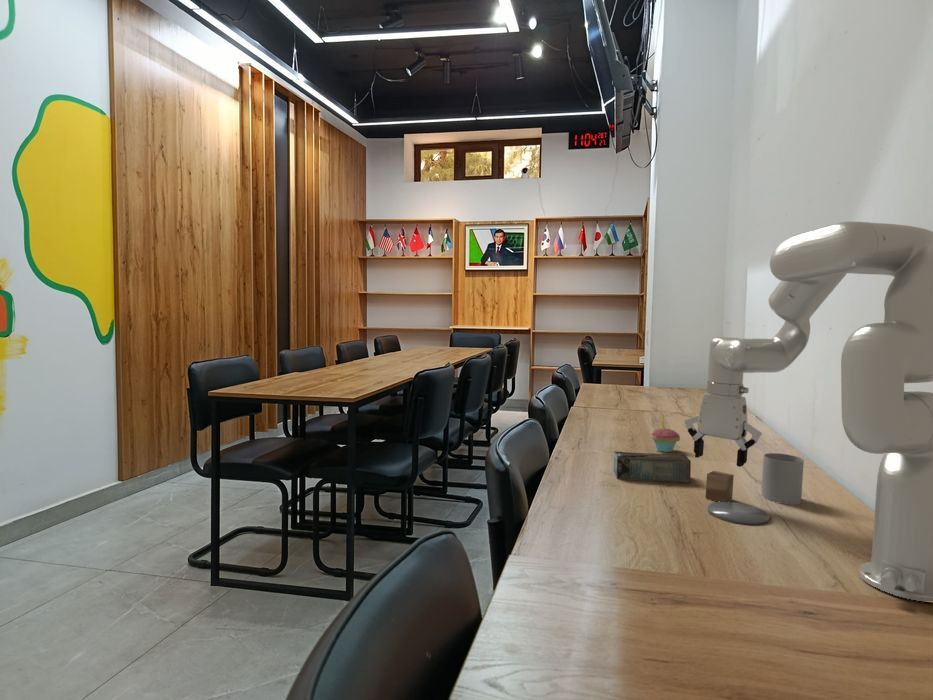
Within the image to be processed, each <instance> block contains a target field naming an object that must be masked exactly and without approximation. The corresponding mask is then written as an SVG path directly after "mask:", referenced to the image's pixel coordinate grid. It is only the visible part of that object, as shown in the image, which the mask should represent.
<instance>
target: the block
mask: <svg viewBox="0 0 933 700" xmlns="http://www.w3.org/2000/svg"><path fill="white" fill-rule="evenodd" d="M734 477H735V476H734V474H732V473H728V472H723V471H718V470H713V471H710V472H708V473H706V484H705V499H706V498H707V499H706V500H709V499H711V501H713V500H716V501H715V502H717V501H720V502H731V501H732V500H733V492H734ZM731 499H732V500H731Z"/></svg>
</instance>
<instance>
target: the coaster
mask: <svg viewBox="0 0 933 700" xmlns="http://www.w3.org/2000/svg"><path fill="white" fill-rule="evenodd" d="M707 512H708V513H709V514H710V515H711V516H713V517H715V518H717V519H720V520H722V519H723V521H727V522H729V523H734V524H739V523H740V524H741V525H748V524H758V525H763V524H762V523H764V524H766V523H768V522H769V520H770V515H769V513H768V512H766V511H765V510H763V509H761V508H759V507H756V506H754V505H749V504H746V503H741V502H731V501H728V502H717V501H714V502H711V503H709V504H708V506H707ZM767 521H768V522H767ZM765 522H766V523H765Z"/></svg>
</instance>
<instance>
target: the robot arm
mask: <svg viewBox="0 0 933 700" xmlns="http://www.w3.org/2000/svg"><path fill="white" fill-rule="evenodd" d="M769 268H770V272H771V274H772V275H773V276H774V278H775V279H777V280H779V281H780V282H779V283H778V285H777V286H776V287H775V288H774V290H773V291H772V292H771V294H770V295H769V297H768V304H769V307H770V308H771V311H773V312H774V313H775V315H776V316H778V317H779V318H781V319H782V320H784V324H783V325H782V326H781V328H780V329H779V330H778V331H777V333H776V334H775V335H774V337H772V338H739V337H731V336H729V337H728V336H727V337H726V336H717V337H716V336H715V337H713V338H712V339H711V340H710V343H709V355H708V368H707V385H706V392H704V393H703V395H702V399H701V403H700V407H699V412H698V416H695V417H692V418H688V419H686V420H684V424H685V427H686V429H687V433H688V434H689V435H690V436H691V438H692V440H693V441H694V443H693V452H694V458H700V457H703V456H704V448H705V447H704V446H705V445H704V444H705V441H704V439H703V438H704V437H705V436H709V437H713V438H719V439H724V440H730V441H735V442H736V445H737V446H738V447H739V448H738V449H737V454H736V455H737V456H736V466H737V467H739V468H740V467H743V466H744V465H745V464H747V461H748V450H749V448H752V446H754V445H756V444H757V442H758V441H759V439H760V438H761V437H762V434H763V433H762V432H761V431H759V430H758V429H757V428H755V427H753V426H752V425H750V424H749V423H748V408H747V399H746V397H745V396H743V394H748V393H749V391H750V390H749V389H750V388H749V387H745V385H744V383H743V380H744V374H748V373H749V374H750V373H751V374H753V373H757V374H759V373H768V374H769V373H779V372H781V371H784V370H785V369H787V368H788V367H789V366H790V365H791V364H792V363H794V362H795V360H796V359H797V358H799V356H800V355H801V354H802V352H803V351H804V350H805V349H806V347H807V344H808V342H809V340H810V334H811V321H810V319H811V318H812V316H814V314H815V312H816V311H818V309H819V308H820V306H821V305H822V304H823V303H824V301H826V299H827V298H828V297H829V295H831V293H833V291H834V290H835V289H836V287H837V286H838V285H839V283H841V282H842V280H843V279H844V278H845V277H846V275H847V274H855V275H859V274H860V275H861V274H862V275H880V276H881V275H883V276H891V277H894V278H893V279H892V280H891V282H890V284H889V286H888V288H887V290H886V293H885V296H884V301H883V303H884V304H883V305H884V306H883V309H884V319H883V322H874V323H868V324H865V325H863V326H860V327H858V328H857V329H855V330H854V331H853V332H852V333H851V334H850V335H849V336H848V338H847V340H846V342H845V344H844V346H843V349H842V352H841V358H840V360H841V361H840V375H841V377H840V380H841V381H840V382H841V385H840V386H841V388H840V389H841V399H840V400H841V403H840V404H841V420H842V427H843V429H844V433H845V435H846V437H847V439H848V440H849V441H850V442H851V444H852V445H853V446H854V447H856V448H857V449H859V450H861V451H863V452H866V453H870V454H877V455H878V454H879V455H883V456H882V457H881V461H880V463H879V467H878V471H877V476H876V477H877V480H876V487H875V488H876V489H875V491H876V492H875V504H874V519H873V533H872V546H871V547H872V549H871V561H868V562H864V563H862V564H860V565H859V568H858V573H859V576H860V578H861V579H862V580H863V581H864V582H866V584H869V586H872V587H874V588H875V587H876V588H875V589H877V588H878V589H877V590H879V589H880V590H879V591H882V592H884V591H885V592H884V593H886V592H887V594H889V593H890V594H889V595H892V594H893V595H892V596H896V597H898V596H899V597H898V598H901V597H902V599H905V598H906V600H909V599H911V600H910V601H913V600H919V601H933V392H930V391H918V390H917V391H915V390H913V391H905V384H919V383H920V384H921V383H923V384H924V383H931V382H932V383H933V231H932V230H930V229H926V228H922V227H919V226H918V227H917V226H913V225H905V224H895V223H885V222H884V223H881V222H880V223H879V222H867V221H844V222H843V221H842V222H837V223H833V224H830V225H826V226H823V227H819V228H815V229H812V230H809V231H805V232H802V233H798V234H794V235H792V236H789V237H788V238H785V239H784V240H783V241H781V242H780V243H779V244H778V245H777V246H776V247H775V248H774V250H773V251H772V253H771V256H770V260H769ZM695 423H697V429H696V428H695V427H694V424H695ZM748 433H749V434H750V435H751V438H750V439H749V440H747V439H746V437H747V435H748Z"/></svg>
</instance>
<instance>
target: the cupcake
mask: <svg viewBox="0 0 933 700" xmlns="http://www.w3.org/2000/svg"><path fill="white" fill-rule="evenodd" d="M664 417H665V416H664V415H663V412H661V424H662V425H661V427H662V428H658V429H656V430H654V431H653V432H652V433H651V439H652V440H653V442H654V444H655V447H656V448H655V449H656V451H658V452H661V451H664V452H663V453H672V452H673V451H674V448H675V446H676V444H677V442H680V440H681V436H680V434H679V433H678V432H676V431H675V430H673V429H670V428H666V427H665V419H664ZM671 451H672V452H671Z"/></svg>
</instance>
